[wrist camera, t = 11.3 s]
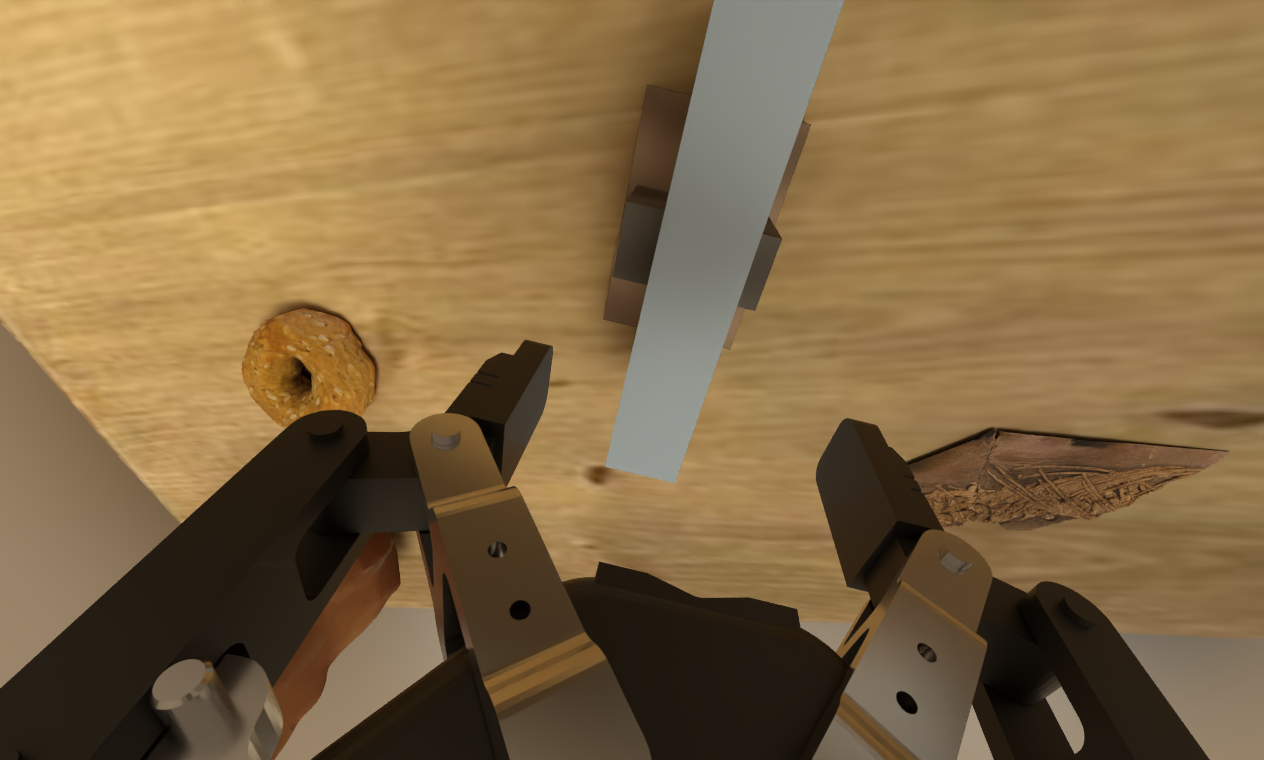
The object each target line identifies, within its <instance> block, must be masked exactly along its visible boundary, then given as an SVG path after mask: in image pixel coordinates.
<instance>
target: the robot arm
mask: <svg viewBox="0 0 1264 760" xmlns="http://www.w3.org/2000/svg"><path fill="white" fill-rule="evenodd" d="M552 356H553V347H552V346H550V345H546V344H542V343H538V342H534V341H530V340H524V341H523V343H522V344H521V346H520V347H519V349H518V350H517V351H516V353H515V354H514V355H510V354H505V353H500V354H498V355H496V356H494V357H492V358H490V359H488V360H486V361H485V363H484V364H483V365H482V366H481V368H480V369H479V370H478V373H477V374H475V375H474V377H473V378H472V379H471V381H470V383H468V384H467V385H466V387H465V388H464V389H463V391H462V392H461V393H460V394H459V396H458V397H457V398H456V399H455V401H454V402H453V403H452V405H451V406H450V407H449V408H448V410H447V411H446V412H445V413H443V414H436V415H432V416H429V417H426V418H424V419H422V420H421V421H419V422H418V423H417V424H415V425H414V427H413V428H412V430H411V431H408V432H367V426H366V423H365V421H364V419H363V418H362V417H360V416H359V415H357V414H355V413H353V412H349V411H344V410H324V411H318V412H314V413H311V414H308V415H305V416H303V417H301V418H299V419H297V420H296V421H294V422H293V423H292V424H290V425H289V426H288V427H287V428H286V429H285V430H284V431H283V432H281V433H280V434H279V435H278V436H277V437H276V438H275V439H274V440H273V441H272V442H270V443H269V444H268V445H267V446H266V447H265V448H264V449H263V450H262V451H261V452H259V453H258V454H257V455H256V456H255V457H254V458H253V459H252V460H251V461H250V462H248V463H247V464H246V465H245V466H244V467H243V468H242V469H241V470H240V471H239V472H238V473H236V474H235V475H234V476H233V477H232V478H231V479H230V480H229V481H228V482H227V483H225V484H224V485H223V486H222V487H221V488H220V489H219V490H218V491H217V492H216V493H214V494H213V495H212V496H211V497H210V498H209V499H208V500H207V501H206V502H205V503H203V504H202V505H201V506H200V507H199V508H198V509H197V510H196V511H195V512H194V513H193V514H191V515H190V516H189V517H188V518H187V519H186V520H185V521H184V522H183V523H182V524H180V525H179V526H178V527H177V528H176V529H175V530H174V531H173V532H172V533H171V534H169V535H168V536H167V537H166V538H165V539H164V540H163V541H162V542H161V543H160V544H159V545H157V546H156V547H155V548H154V549H153V550H152V551H151V552H150V553H149V554H148V555H146V556H145V557H144V558H143V559H142V560H141V561H140V562H139V563H138V564H137V565H136V566H134V567H133V568H132V569H131V570H130V571H129V572H128V573H127V574H126V575H125V576H123V577H122V578H121V579H120V580H119V581H118V582H117V583H116V584H115V585H113V586H112V587H111V588H110V589H109V590H108V591H107V592H106V593H105V594H104V595H103V596H101V597H100V598H99V599H98V600H97V601H96V602H95V603H94V604H93V605H92V606H91V607H89V608H88V609H87V610H86V611H85V612H84V613H83V614H82V615H81V616H79V618H77V619H76V620H75V621H74V622H73V623H72V624H71V625H70V626H69V627H68V628H66V629H65V630H64V631H63V632H62V633H61V634H60V635H59V636H57V637H56V638H55V639H54V640H53V641H52V642H51V643H50V644H49V645H48V646H47V647H45V648H44V649H43V650H42V651H41V652H40V653H39V654H38V655H37V656H36V657H34V658H33V659H32V660H31V661H30V662H29V663H28V664H27V665H26V666H25V667H24V668H22V669H21V671H19V672H18V673H17V674H16V675H15V676H14V677H13V678H11V680H9V681H8V682H7V683H6V684H5V685H4V686H3V687H2V688H0V760H271V757H272V755H273V753H274V751H275V748H276V746H277V744H278V742H279V739H280V736H281V733H282V727H283V713H282V710H281V707H280V705H279V702H278V700H277V698H276V696H275V693H274V691H273V689H272V688H273V687H274V685H275V684H276V682H277V681H278V679H279V678H280V676H281V675H282V673H283V671H284V670H285V668H286V667H287V665H288V664H289V662H290V661H291V659H292V658H293V656H294V655H295V653H296V651H297V650H298V648H299V647H300V645H301V644H302V642H303V641H304V639H305V638H306V636H307V635H308V633H309V631H310V630H311V628H312V627H313V625H314V624H315V622H316V621H317V619H318V618H319V616H320V615H321V613H322V611H323V610H324V608H325V607H326V605H327V604H328V602H329V601H330V599H331V598H332V596H333V595H334V593H335V591H336V590H337V588H338V587H339V585H340V584H341V582H342V581H343V579H344V578H345V576H346V575H347V573H348V571H349V570H350V568H351V567H352V565H353V564H354V562H355V561H356V559H357V558H358V556H359V555H360V553H361V551H362V550H363V548H364V547H365V545H366V544H367V542H368V541H369V539H370V538H371V536H372V535H373V533H379V532H401V531H416V533H417V537H418V541H419V545H420V549H421V554H422V558H423V562H424V566H425V570H426V575H427V579H428V583H429V587H430V591H431V596H432V600H433V606H434V612H435V619H436V626H437V632H438V636H439V642H440V646H441V651H442V655H443V659H444V662H442V663H441V664H440V665H438V666H437V667H436V668H434V669H433V670H431V671H430V672H429V673H428V674H426V675H425V676H424V677H422V678H421V679H420V680H418V681H417V682H415V683H414V684H412V685H411V686H410V687H408V688H407V689H406V690H404V691H403V692H402V693H400V694H399V695H397V696H396V697H395V698H393V699H392V700H391V701H389V702H388V703H387V704H385V705H384V706H383V707H381V708H380V709H378V710H377V711H376V712H374V713H373V714H372V715H370V716H369V717H368V718H366V719H365V720H363V721H362V722H361V723H360V724H358V725H357V726H355V727H354V728H353V729H351V730H350V731H349V732H347V733H346V734H344V735H343V736H342V737H340V738H339V739H338V740H336V741H335V742H334V743H332V744H331V745H330V746H328V747H327V748H325V749H324V750H323V751H321V752H320V753H319V754H317V755H316V756H315V757H314V758H312V759H311V760H957V756H958V753H959V749H960V745H961V742H962V738H963V734H964V731H965V727H966V723H967V719H968V716H969V712H970V709H971V705H973V708H974V710H975V712H976V715H977V718H978V720H979V723H980V725H981V728H982V731H983V733H984V735H985V738H986V740H987V743H988V745H989V748H990V751H991V753H992V756H993V758H994V760H1209V758H1208V757H1207V755H1206V754H1205V753H1204V751H1203V750H1202V749H1201V747H1200V746H1199V744H1198V743H1197V741H1196V740H1195V739H1194V737H1193V736H1192V735H1191V734H1190V732H1189V730H1188V729H1187V728H1186V726H1185V725H1184V723H1183V722H1182V721H1181V719H1180V718H1179V716H1178V715H1177V714H1176V712H1175V711H1174V709H1173V708H1172V707H1171V705H1170V704H1169V703H1168V701H1167V700H1166V698H1165V697H1164V696H1163V694H1162V693H1161V691H1160V690H1159V689H1158V687H1157V686H1156V684H1154V682H1153V680H1152V679H1151V677H1150V676H1149V675H1148V673H1147V672H1146V671H1145V669H1144V668H1143V666H1142V665H1141V664H1140V662H1139V661H1138V660H1137V658H1136V657H1135V655H1134V654H1133V653H1132V651H1131V650H1130V648H1129V647H1128V646H1127V644H1126V643H1125V641H1124V640H1123V639H1122V637H1121V636H1120V634H1119V633H1118V632H1117V630H1116V629H1115V627H1114V626H1113V625H1112V623H1111V622H1110V621H1109V619H1108V618H1107V617H1106V616H1105V615H1104V614H1103V613H1102V612H1101V611H1100V610H1099V609H1098V608H1097V607H1096V606H1095V605H1093V604H1092V603H1091V602H1090V601H1088V600H1087V599H1086V598H1084V597H1083V596H1081V595H1080V594H1078V593H1077V592H1075V591H1073V590H1071V589H1070V588H1068V587H1065V586H1063V585H1060V584H1058V583H1054V582H1047V581H1045V582H1041V583H1039V584H1037V585H1036V586H1035V587H1034V588H1033V589H1032V590H1031V591H1030V592H1028V593H1026V592H1024V591H1022V590H1020V589H1018V588H1015V587H1013V586H1011V585H1009V584H1007V583H1005V582H1003V581H1001V580H999V579H997V578H994V577H992V572H991V569H990V567H989V565H988V563H987V562H986V561H985V559H984V558H983V557H982V556H981V555H980V554H979V553H978V552H977V551H976V550H975V549H974V548H973V547H972V546H971V545H969V544H968V543H967V542H965V541H964V540H962V539H960V538H959V537H957V536H955V535H953V534H950V533H948V532H945V531H944V529H943V528H942V526H941V524H940V522H939V520H938V518H937V517H936V515H935V513H934V511H933V509H932V508H931V506H930V504H929V502H928V500H927V499H926V497H925V495H924V493H921V490H922V489H921V488H920V486H919V484H918V482H917V481H916V480H914V479H915V477H914V475H913V473H912V471H911V470H910V468H909V466H908V464H907V462H906V461H905V460H904V459H903V458H902V457H901V456H900V455H899V454H898V453H897V452H896V451H895V450H894V449H893V448H891V447H888V445H887V443H886V441H885V439H884V437H883V435H882V433H881V431H880V430H879V428H878V426H876V425H874V424H870V423H866V422H862V421H858V420H853V419H849V418H846V419H844V420H843V421H842V422H841V423H840V425H839V427H838V428H837V430H836V432H835V434H834V435H833V437H832V439H831V441H830V443H829V444H828V446H827V448H826V450H825V451H824V453H823V455H822V457H821V458H820V460H819V463H818V466H817V471H816V482H817V486H818V489H819V493H820V496H821V499H822V503H823V506H824V510H825V513H826V516H827V520H828V523H829V526H830V530H831V533H832V537H833V540H834V543H835V547H836V550H837V554H838V557H839V560H840V564H841V567H842V571H843V574H844V577H845V581H846V584H847V587H850V588H854V589H858V590H862V591H867V592H869V595H870V599H869V600H868V601H867V603H866V604H865V605H864V606H863V608H862V610H861V611H860V613H859V615H858V616H857V618H856V620H855V621H854V623H853V625H852V626H851V628H850V630H849V631H848V633H847V635H846V636H845V638H844V640H843V642H842V643H841V645H840V646H839V648H838V650H837V652H835V651H833V650H832V649H831V648H830V647H829V646H828V645H826V644H825V643H823V642H822V641H821V640H819V639H818V638H817V637H815V636H814V635H812V634H810V633H809V632H807V631H806V630H804V629H802V628H800V623H799V617H798V612H797V609H794V608H790V607H786V606H782V605H778V604H773V603H769V602H765V601H761V600H757V599H753V598H699V597H695V596H693V595H691V594H689V593H687V592H685V591H683V590H681V589H679V588H677V587H675V586H673V585H671V584H668V583H666V582H664V581H662V580H660V579H658V578H656V577H654V576H652V575H650V574H648V573H644V572H640V571H636V570H632V569H628V568H623V567H619V566H615V565H611V564H607V563H603V562H599V564H598V568H597V572H596V576H595V577H584V578H577V579H571V580H567V581H564V582H562V581H561V579H560V576H559V574H558V572H557V570H556V568H555V566H554V563H553V561H552V559H551V557H550V555H549V553H548V551H547V548H546V546H545V544H544V542H543V540H542V538H541V535H540V533H539V531H538V529H537V527H536V525H535V523H534V520H533V518H532V516H531V514H530V512H529V510H528V507H527V505H526V503H525V501H524V499H523V497H522V495H521V493H520V491H519V490H518V488H517V487H515V486H512V487H508V488H507V485H508V483H509V481H510V479H511V477H512V475H513V473H514V471H515V469H516V467H517V465H518V463H519V461H520V458H521V456H522V454H523V452H524V450H525V448H526V446H527V444H528V442H529V440H530V438H531V436H532V434H533V432H534V430H535V428H536V426H537V424H538V422H539V419H540V417H541V415H542V413H543V410H544V407H545V403H546V399H547V394H548V387H549V379H550V372H551V364H552ZM1061 686H1062V688H1063V690H1064V692H1065V693H1066V695H1067V697H1068V699H1069V701H1070V702H1071V704H1072V706H1073V708H1074V710H1075V711H1076V713H1077V715H1078V717H1079V719H1080V721H1081V723H1082V725H1083V729H1084V734H1085V735H1084V736H1085V738H1084V739H1085V740H1084V745H1083V747H1082V749H1081V750H1080V751H1079V752H1078V753H1076V754H1074V752H1073V750H1072V748H1071V746H1070V745H1069V742H1068V741H1067V739H1066V737H1065V735H1064V733H1063V731H1062V729H1061V727H1060V725H1059V723H1058V721H1057V719H1056V717H1055V716H1054V713H1053V712H1052V710H1051V708H1050V706H1049V704H1048V702H1047V700H1046V698H1045V697H1047V696H1048V695H1050V694H1051V693H1053V692H1054V691H1056V690H1057V689H1058V688H1060V687H1061Z"/></svg>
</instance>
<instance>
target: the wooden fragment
mask: <svg viewBox="0 0 1264 760" xmlns="http://www.w3.org/2000/svg"><path fill="white" fill-rule="evenodd" d="M996 432H997V430H992V431H990V432H988V433H986V434H984V435H983V436H981V437H980V438H979V439H975V440H972V441H970V442H967V443H965V444H962V445H960V446H957V447H955V448H952V449H949V450H946V451H944V452H941V453H939V454H936V455H934V456H931V457H928V458H926V459H923V460H921V461H918V462H915V463H912V464H910V465H908V466H909V468H910V470H911V471H912V473H913V475H914V477H915V479H914V480H916V481H917V482H918V484H919V486H920V488H921V489H922V490H921V493H924V495H925V497H926V499H927V500H928V502H929V504H930V506H931V508H932V509H933V511H934V513H935V515H936V517H937V518H938V520H939V522H940V524H941V526H943V527H952V526H953V525H956V526H962V525H963V523H965V522H966V521H967V520H968V519H969V520H972V521H975V520H978V521H979V522H983V523H985V522H987V523H996V522H998V523H999V524H1000V525H1001V526H1002V527H1003V528H1004V529H1006V530H1031V531H1032V530H1033V529H1036V528H1040V527H1043V526H1048V525H1051V524H1053V523H1061V522H1063V521H1065V520H1072V519H1079V518H1084V519H1088V520H1092V521H1093V520H1094V519H1096V518H1098V517H1099V516H1100V515H1101V514H1103V513H1107V512H1111V511H1116V509H1117V508H1121V507H1126V506H1129V505H1131V504H1133V503H1135V499H1138V498H1140V497H1142V496H1145V495H1148V494H1151V493H1153V492H1154V491H1156V490H1159V489H1161V488H1163V486H1164V485H1166V484H1167V483H1169V482H1172V481H1175V480H1178V479H1182V478H1186V477H1189V476H1191V475H1193V474H1196V473H1198V472H1200V471H1201V470H1204V469H1206V468H1207V467H1209V466H1211V465H1212V464H1216V463H1218V462H1220V461H1221V460H1222V459H1223V458H1224V457H1225V456H1226V455H1227V454H1228V453H1229V451H1228V452H1225V451H1215V450H1203V449H1200V450H1199V449H1187V448H1178V447H1165V446H1153V445H1144V444H1129V443H1110V442H1094V441H1085V440H1075V439H1067V438H1057V437H1048V436H1035V435H1027V436H1026V435H1024V434H1018V433H1007V432H1003V431H999V432H1000V435H999V437H998V439H995V435H996V434H997V433H996Z"/></svg>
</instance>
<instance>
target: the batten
mask: <svg viewBox="0 0 1264 760" xmlns="http://www.w3.org/2000/svg"><path fill="white" fill-rule="evenodd" d="M843 3H844V0H714V3H713V7H712V11H711V15H710V20H709V24H708V28H707V33H706V37H705V41H704V45H703V50H702V54H701V58H700V62H699V67H698V71H697V75H696V80H695V84H694V88H693V92H692V97H691V101H690V105H689V109H688V114H687V118H686V122H685V127H684V131H683V135H682V139H681V144H680V148H679V152H678V156H677V161H676V165H675V169H674V174H673V178H672V182H671V186H670V191H669V195H668V199H667V203H666V208H665V212H664V216H663V220H662V225H661V229H660V233H659V238H658V242H657V246H656V250H655V255H654V259H653V263H652V267H651V272H650V276H649V280H648V285H647V289H646V293H645V297H644V302H643V306H642V310H641V314H640V319H639V323H638V327H637V332H636V336H635V340H634V344H633V349H632V353H631V357H630V361H629V366H628V370H627V374H626V379H625V383H624V387H623V391H622V396H621V400H620V404H619V408H618V413H617V417H616V421H615V426H614V430H613V434H612V438H611V443H610V447H609V451H608V455H607V460H606V464H605V467H609V468H613V469H617V470H622V471H626V472H630V473H634V474H638V475H643V476H647V477H651V478H655V479H660V480H664V481H668V482H672V483H675V482H676V479H677V476H678V473H679V470H680V467H681V465H682V462H683V459H684V456H685V453H686V450H687V448H688V445H689V442H690V439H691V436H692V433H693V430H694V428H695V425H696V422H697V419H698V416H699V413H700V411H701V408H702V405H703V402H704V399H705V396H706V393H707V391H708V388H709V385H710V382H711V379H712V376H713V374H714V371H715V368H716V365H717V362H718V359H719V356H720V354H721V351H722V348H723V345H724V342H725V339H726V336H727V334H728V331H729V328H730V325H731V322H732V319H733V317H734V314H735V311H736V308H737V305H738V302H739V299H740V297H741V294H742V291H743V288H744V285H745V282H746V280H747V277H748V274H749V271H750V268H751V265H752V262H753V260H754V257H755V254H756V251H757V248H758V245H759V242H760V240H761V237H762V234H763V231H764V228H765V225H766V223H767V220H768V217H769V214H770V211H771V208H772V205H773V203H774V200H775V197H776V194H777V191H778V188H779V186H780V183H781V180H782V177H783V174H784V171H785V168H786V166H787V163H788V160H789V157H790V154H791V151H792V148H793V146H794V143H795V140H796V137H797V134H798V131H799V129H800V126H801V123H802V120H803V117H804V114H805V111H806V109H807V106H808V103H809V100H810V97H811V94H812V92H813V89H814V86H815V83H816V80H817V77H818V74H819V72H820V69H821V66H822V63H823V60H824V57H825V55H826V52H827V49H828V46H829V43H830V40H831V37H832V35H833V32H834V29H835V26H836V23H837V20H838V17H839V15H840V12H841V9H842V6H843Z"/></svg>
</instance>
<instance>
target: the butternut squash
mask: <svg viewBox="0 0 1264 760" xmlns="http://www.w3.org/2000/svg"><path fill="white" fill-rule="evenodd" d="M400 583H401V582H400V573H399V564H398V555H397V551H396V548H395V545H394V542H393V540H392V538H391V536H390V533H389V532H379V533H373V535H372V536H371V538H370V539H369V541H368V542H367V544H366V545H365V547H364V548H363V550H362V551H361V553H360V555H359V556H358V558H357V559H356V561H355V562H354V564H353V565H352V567H351V568H350V570H349V571H348V573H347V575H346V576H345V578H344V579H343V581H342V582H341V584H340V585H339V587H338V588H337V590H336V591H335V593H334V595H333V596H332V598H331V599H330V601H329V602H328V604H327V605H326V607H325V608H324V610H323V611H322V613H321V615H320V616H319V618H318V619H317V621H316V622H315V624H314V625H313V627H312V628H311V630H310V631H309V633H308V635H307V636H306V638H305V639H304V641H303V642H302V644H301V645H300V647H299V648H298V650H297V651H296V653H295V655H294V656H293V658H292V659H291V661H290V662H289V664H288V665H287V667H286V668H285V670H284V671H283V673H282V675H281V676H280V678H279V679H278V681H277V682H276V684H275V685H274V687H273V688H272V689H273V691H274V693H275V696H276V698H277V700H278V702H279V705H280V707H281V710H282V713H283V727H282V733H281V736H280V739H279V742H278V744H277V746H276V748H275V751H274V753H273V755H272V757H271V760H274V759H275V758H276V757H277V755H278V754H279V753H280V751H281V750H282V748H283V747H284V746H285V744H286V742H287V741H288V739H289V738H290V736H291V734H292V732H293V731H294V729H295V727H296V725H297V723H298V722H299V721H300V719H301V718H302V717H303V716H304V715H305V714H306V713H307V712H308V711H309V710H310V709H311V708H312V707H313V706H314V705H315V704H316V702H317V701H318V699H319V698H320V696H321V694H322V692H323V689H324V686H325V682H326V677H327V671H328V668H329V666H330V665H331V663H332V662H333V661H334V660H335V658H336V657H337V656H338V655H339V653H340V652H342V651H343V650H344V649H345V648H346V647H347V646H348V645H349V644H350V643H351V642H352V641H353V640H354V639H355V638H356V637H358V636H359V635H360V634H361V633H362V632H363V631H364V630H365V629H366V628H367V627H368V626H369V624H370V623H371V622H372V621H373V620H374V619H375V618H376V617H377V616H378V614H379V613H380V611H381V609H382V608H383V606H384V605H385V603H386V602H387V600H388V598H389V597H390V596H391V594H393V593H394V592H395V591H396V590H397V589H398V587H399V586H400Z"/></svg>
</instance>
